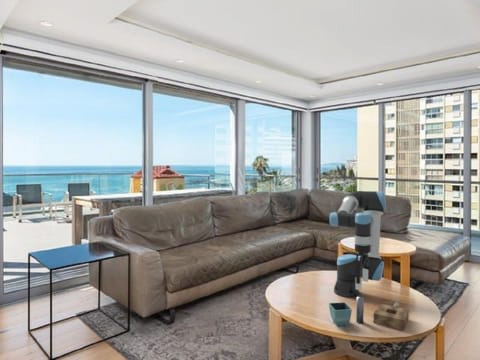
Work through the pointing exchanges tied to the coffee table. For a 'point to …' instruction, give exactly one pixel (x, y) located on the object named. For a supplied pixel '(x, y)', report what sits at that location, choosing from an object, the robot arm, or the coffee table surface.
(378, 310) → the block
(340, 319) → the flower pot
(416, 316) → the coffee table surface
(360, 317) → the grey metal peg
